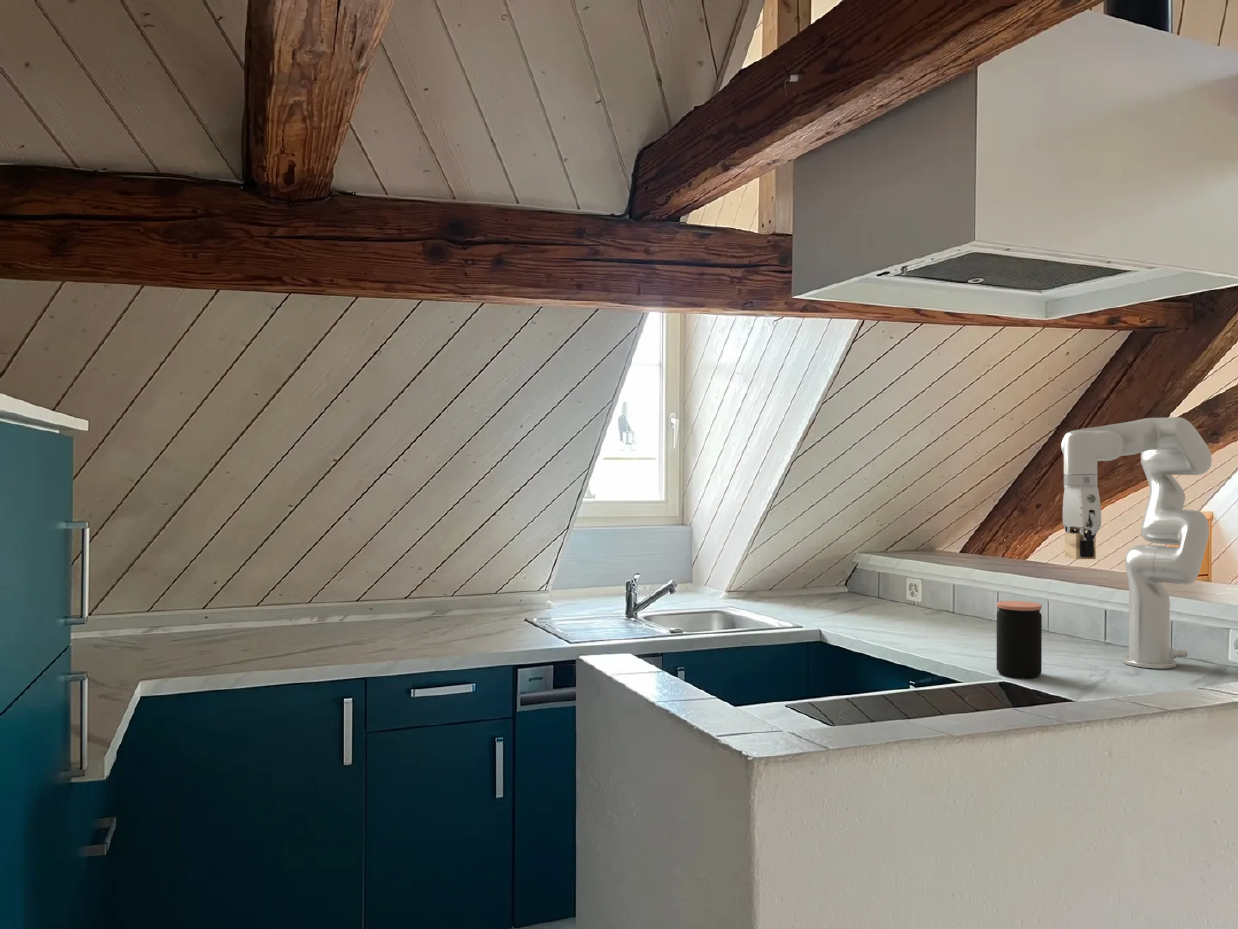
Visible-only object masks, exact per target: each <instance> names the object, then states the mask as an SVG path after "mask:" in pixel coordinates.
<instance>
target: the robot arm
mask: <svg viewBox="0 0 1238 929" xmlns="http://www.w3.org/2000/svg"><path fill="white" fill-rule="evenodd" d="M1060 448H1061V452H1062V455H1063V488H1064V490H1063V497H1062V498H1063V499H1062V526H1063V528H1064V531H1065V533H1081V537H1082V541H1080V557H1093V556H1094V541H1095V536H1096V535H1097V533H1098V531H1099V530H1100V528H1101V526H1102V508H1101V498H1100V491H1099V488H1098V462H1108V461H1110V462H1111V461H1115V460H1116V459H1118V458H1120V457H1123V456H1132V455H1137V454H1140V463H1141V466H1142V469H1143V472H1144V474H1145V477H1146V480H1147V483H1148V487H1149V494H1148V500H1147V503H1146V507H1145V511H1144V514H1143V518H1142V522H1141V527H1140V534H1141V535H1140V536H1141V537H1142V538H1143V539H1144V541H1146V542H1148V543H1152V545H1151V544H1140V545H1135V546H1133V547H1131V548H1130V549H1128V550H1127V552H1126V553H1125V558H1124V566H1125V570H1126V571H1125V572H1126V575H1127V581H1128V597H1129V598H1128V605H1129V606H1128V607H1129V608H1128V649H1129V650H1128V655H1125V656H1123V657H1122V660H1121V661H1122V663H1124V664H1126V665H1129V666H1133V667H1139V668H1146V669H1154V670H1155V669H1163V670H1164V669H1173V668H1176V666H1177V662H1176V660H1174V659H1176V658H1187V657H1188V652H1187V650H1186V649H1176V648H1173V647H1170V639H1171V638H1170V627H1171V626H1170V623H1171V622H1170V618H1171V615H1170V608H1171V606H1170V605H1171V603H1170V601H1171V600H1170V596H1169V594H1168V592H1167V589H1165V587H1164V586H1163V584H1173V585H1174V584H1175V585H1185V586H1186V585H1191V584H1192V583H1194V582H1195V581H1196V580H1197V579H1198V577H1199V574H1200V571H1201V567H1202V565H1203V559H1204V556H1205V553H1206V548H1207V544H1208V540H1209V534H1210V525H1209V521H1208V518H1207V516H1206V515H1205V513H1203V512H1201V511H1198V510H1194V509H1184V504H1185V501H1186V493H1185V491H1184V489H1183V487H1182V486H1181V484H1180V483H1179V482H1178V481H1177V479H1176V478H1175V477H1174V476H1198V475H1200V476H1201V475H1204V474H1206V473H1207V472H1208V471H1210V470H1209V469H1210V468H1211V466H1212V462H1213V458H1212V452H1211V450H1210V448H1209V446H1208V445H1207V443H1206V442H1205V440H1204V439H1203V437H1202V436H1201V434H1200V433H1199V432H1198V430H1197V429H1196V427H1195V426H1194V424H1192V423H1191V422H1190V421H1189V420H1187V419H1186V418H1184V417H1180V416H1177V417H1172V416H1171V417H1170V416H1169V417H1147V418H1141V419H1136V420H1132V421H1127V422H1121V423H1119V422H1118V423H1114V424H1113V423H1112V424H1107V425H1101V426H1100V425H1099V426H1094V427H1087V428H1085V427H1084V428H1080V429H1075V430H1071V431H1068V432H1066V433H1065V434H1064V436H1063V437H1062V441H1061V444H1060ZM1153 544H1160V545H1153ZM1164 545H1165V546H1164ZM1166 545H1168V546H1166ZM1170 545H1171V546H1170ZM1178 546H1179V547H1178Z"/></svg>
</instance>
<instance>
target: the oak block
mask: <svg viewBox="0 0 1238 929" xmlns="http://www.w3.org/2000/svg"><path fill="white" fill-rule="evenodd" d="M1080 541H1082V537H1081V532H1080V533H1066V532H1065V533H1064V557H1065V558H1068V559H1073V560H1096V559H1097V558H1096V557H1097V556H1096V553H1097V552H1096V551H1097V550H1096V548H1097V547H1096V545H1097V544H1096V542H1097V541H1096V536H1095V541H1094V556H1093V557H1080Z"/></svg>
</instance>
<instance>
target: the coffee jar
mask: <svg viewBox="0 0 1238 929" xmlns="http://www.w3.org/2000/svg"><path fill="white" fill-rule="evenodd" d="M1042 606H1043V605H1042V604H1040V603H1037V602H1033V601H1026V600H1024V601H1023V600H1003V601H997V602H996V607H997V608H998V610H997V611H996V670H997V672H998V674H999V675H1001V676H1003V677H1006V678H1012V679H1023V680H1025V679H1026V680H1029V679H1030V680H1031V679H1037V678H1038V676H1039V677H1040V675H1041V673H1042V671H1043V670H1042V666H1043V665H1042V663H1043V662H1042V656H1043V655H1042V653H1043V652H1042V646H1043V645H1042V644H1043V642H1042V641H1043V640H1042V639H1043V638H1042V637H1043V636H1042V635H1043V634H1042V633H1043V631H1042V628H1043V627H1042V626H1043V625H1042V623H1043V622H1042V620H1043V619H1042V618H1043V615H1042V613H1041V610H1042ZM1036 677H1037V678H1036Z"/></svg>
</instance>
